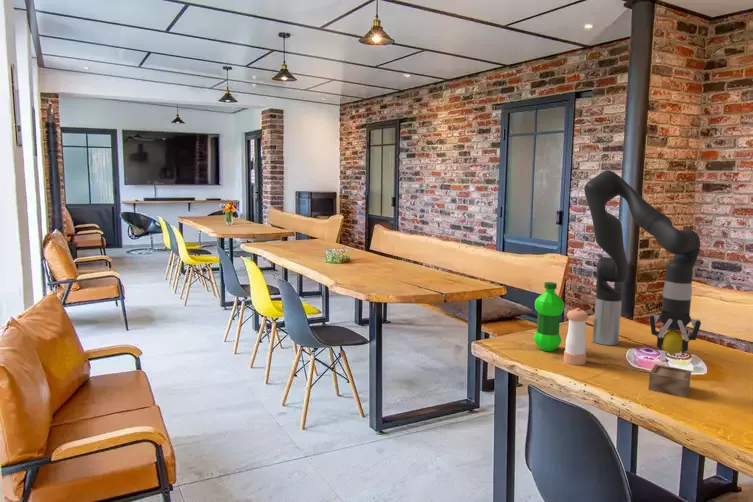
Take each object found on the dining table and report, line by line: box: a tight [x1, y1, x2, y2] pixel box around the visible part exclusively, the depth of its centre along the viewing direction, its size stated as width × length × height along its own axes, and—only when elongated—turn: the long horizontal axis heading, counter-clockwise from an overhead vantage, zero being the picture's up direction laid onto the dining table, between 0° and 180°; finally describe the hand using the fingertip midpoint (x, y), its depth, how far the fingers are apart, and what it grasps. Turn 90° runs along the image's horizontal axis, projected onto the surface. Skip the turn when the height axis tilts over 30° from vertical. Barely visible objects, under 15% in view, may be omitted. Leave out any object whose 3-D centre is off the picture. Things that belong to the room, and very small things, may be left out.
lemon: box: [662, 329, 684, 356], centre depth 169 cm, size 6×6×8 cm
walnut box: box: [648, 363, 692, 398], centre depth 171 cm, size 10×10×6 cm
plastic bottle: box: [533, 281, 565, 352], centre depth 206 cm, size 10×10×25 cm
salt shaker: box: [563, 307, 589, 366], centre depth 193 cm, size 7×7×19 cm
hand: (671, 350), depth 169 cm, fingers closed on lemon, 5 cm apart
